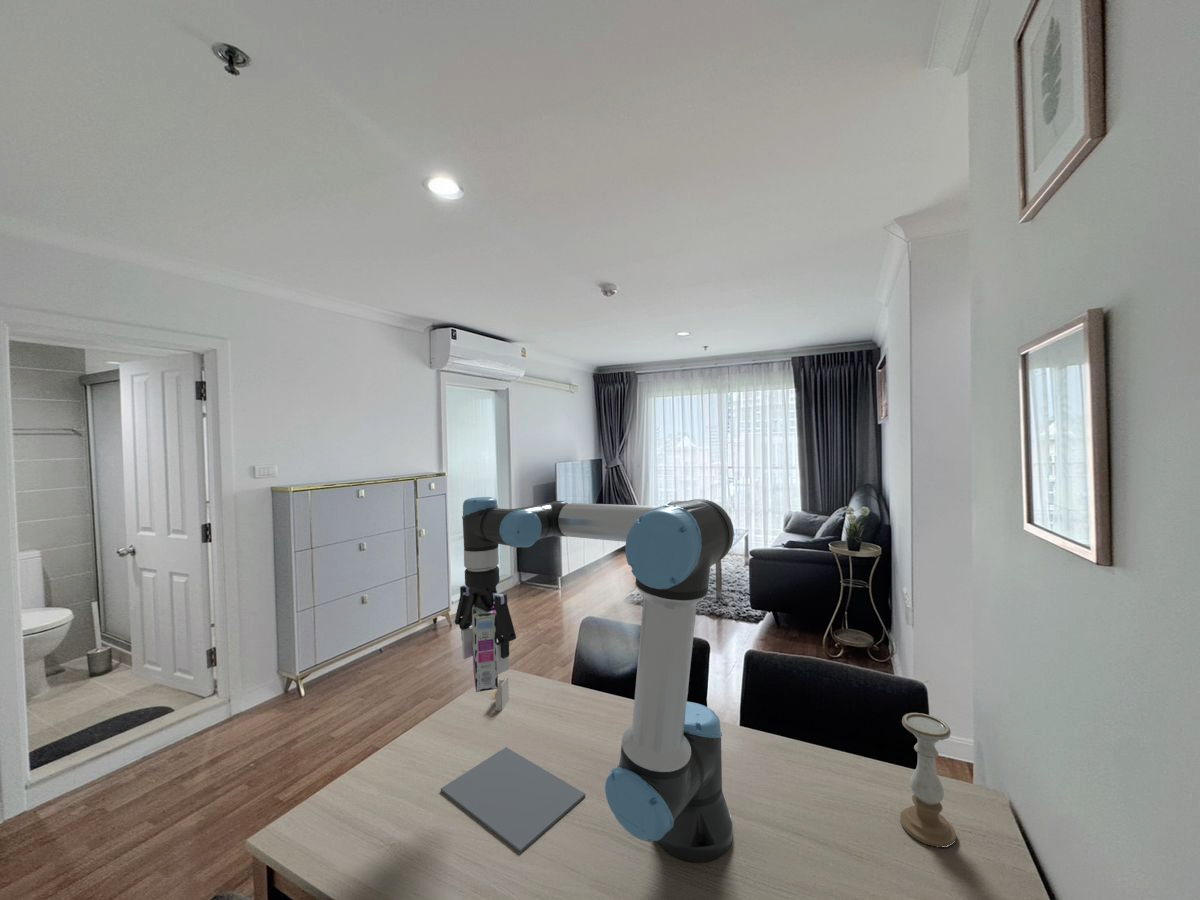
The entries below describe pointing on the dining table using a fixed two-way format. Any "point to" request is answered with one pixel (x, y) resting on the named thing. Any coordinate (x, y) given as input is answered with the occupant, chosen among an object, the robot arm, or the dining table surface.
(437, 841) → the dining table surface
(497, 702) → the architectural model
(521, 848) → the mat
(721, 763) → the robot arm
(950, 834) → the candle holder
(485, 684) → the candy bar box
